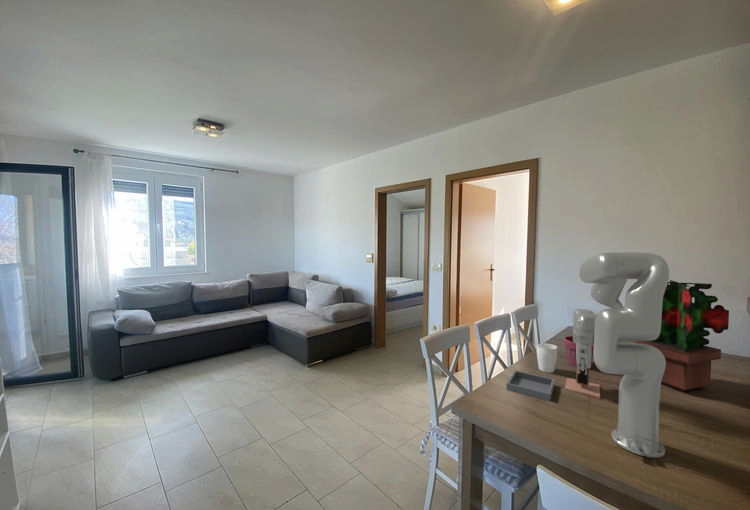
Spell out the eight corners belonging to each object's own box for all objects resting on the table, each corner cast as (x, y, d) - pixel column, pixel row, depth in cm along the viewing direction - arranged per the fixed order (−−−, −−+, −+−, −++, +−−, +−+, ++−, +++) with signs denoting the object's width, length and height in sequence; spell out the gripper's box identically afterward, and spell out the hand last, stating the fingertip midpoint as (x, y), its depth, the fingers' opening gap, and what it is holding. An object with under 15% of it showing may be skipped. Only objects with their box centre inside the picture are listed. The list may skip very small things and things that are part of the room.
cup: (560, 374, 144) (560, 349, 144) (539, 373, 146) (539, 348, 145) (553, 366, 153) (553, 343, 152) (533, 365, 155) (534, 342, 154)
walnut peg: (588, 386, 127) (588, 367, 127) (575, 383, 130) (576, 365, 129) (588, 382, 131) (589, 364, 130) (576, 379, 133) (576, 361, 133)
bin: (549, 403, 119) (550, 394, 119) (506, 391, 128) (506, 383, 128) (554, 387, 132) (554, 379, 132) (514, 377, 141) (514, 370, 141)
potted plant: (689, 399, 121) (693, 287, 119) (629, 376, 142) (632, 280, 140) (725, 391, 127) (730, 284, 125) (662, 370, 148) (666, 278, 146)
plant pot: (603, 367, 152) (604, 342, 151) (584, 372, 146) (585, 346, 146) (575, 357, 165) (575, 334, 164) (557, 361, 160) (557, 337, 159)
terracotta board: (600, 398, 122) (600, 396, 122) (564, 390, 129) (564, 388, 129) (599, 387, 132) (599, 384, 131) (566, 379, 139) (567, 377, 138)
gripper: (594, 346, 120) (593, 391, 121) (594, 335, 134) (593, 375, 135) (571, 342, 125) (570, 386, 125) (574, 332, 138) (573, 371, 139)
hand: (582, 380), depth 130 cm, fingers closed on walnut peg, 4 cm apart
